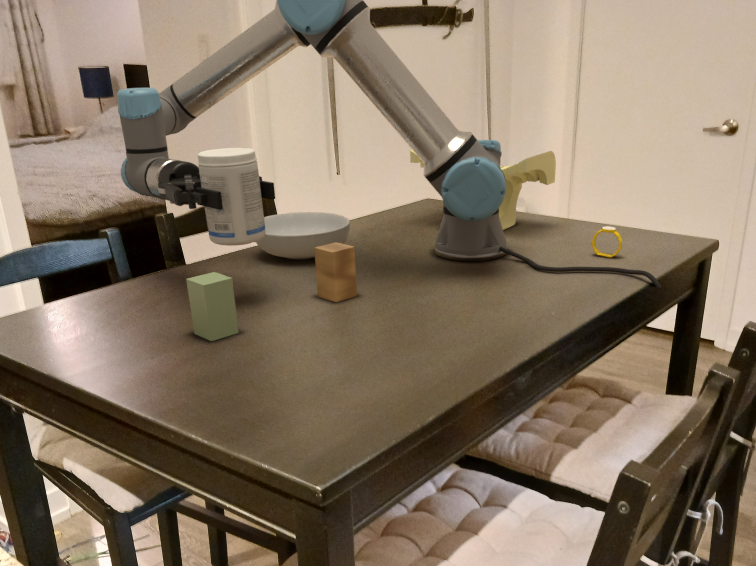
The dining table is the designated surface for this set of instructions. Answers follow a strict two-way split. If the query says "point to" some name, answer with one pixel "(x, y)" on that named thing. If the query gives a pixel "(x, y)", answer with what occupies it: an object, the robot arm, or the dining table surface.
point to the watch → (607, 230)
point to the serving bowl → (302, 233)
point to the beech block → (336, 271)
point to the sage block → (212, 306)
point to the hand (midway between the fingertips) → (247, 195)
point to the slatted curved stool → (518, 180)
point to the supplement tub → (233, 195)
